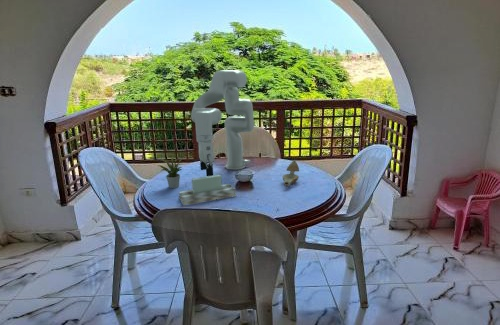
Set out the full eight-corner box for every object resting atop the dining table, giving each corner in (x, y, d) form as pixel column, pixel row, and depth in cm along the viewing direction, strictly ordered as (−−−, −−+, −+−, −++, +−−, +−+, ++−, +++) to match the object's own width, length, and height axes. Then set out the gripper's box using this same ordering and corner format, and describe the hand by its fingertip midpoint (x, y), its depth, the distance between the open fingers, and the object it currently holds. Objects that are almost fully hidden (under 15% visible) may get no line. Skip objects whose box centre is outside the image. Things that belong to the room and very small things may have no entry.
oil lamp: (301, 177, 190) (302, 160, 187) (294, 190, 170) (294, 171, 168) (286, 176, 192) (286, 159, 190) (277, 188, 173) (277, 170, 170)
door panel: (220, 191, 167) (219, 174, 165) (222, 193, 165) (221, 176, 163) (193, 196, 162) (191, 178, 160) (194, 198, 160) (193, 180, 157)
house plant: (179, 179, 189) (177, 151, 185) (194, 185, 180) (192, 155, 175) (156, 186, 180) (153, 156, 175) (170, 192, 170) (168, 161, 166)
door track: (229, 189, 173) (229, 183, 172) (236, 196, 164) (236, 189, 163) (178, 197, 163) (178, 191, 162) (183, 205, 155) (183, 198, 154)
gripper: (218, 140, 150) (220, 176, 155) (207, 133, 165) (209, 166, 170) (201, 142, 147) (204, 179, 152) (191, 134, 162) (194, 168, 167)
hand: (206, 172), depth 161 cm, fingers open, 9 cm apart
